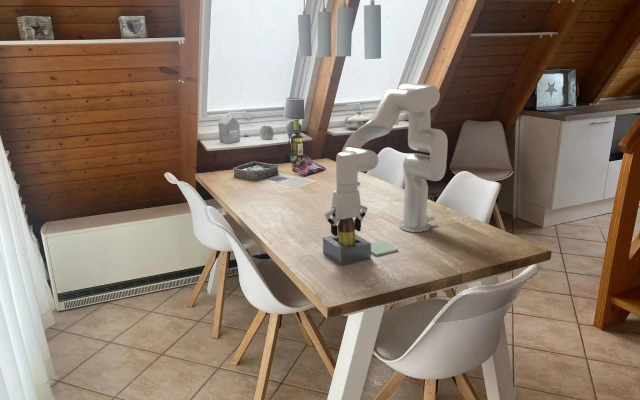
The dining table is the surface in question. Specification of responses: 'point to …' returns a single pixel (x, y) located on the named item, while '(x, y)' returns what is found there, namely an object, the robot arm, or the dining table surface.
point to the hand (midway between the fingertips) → (346, 232)
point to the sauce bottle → (346, 232)
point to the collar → (346, 250)
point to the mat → (382, 248)
